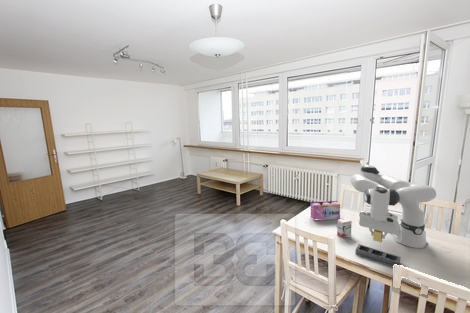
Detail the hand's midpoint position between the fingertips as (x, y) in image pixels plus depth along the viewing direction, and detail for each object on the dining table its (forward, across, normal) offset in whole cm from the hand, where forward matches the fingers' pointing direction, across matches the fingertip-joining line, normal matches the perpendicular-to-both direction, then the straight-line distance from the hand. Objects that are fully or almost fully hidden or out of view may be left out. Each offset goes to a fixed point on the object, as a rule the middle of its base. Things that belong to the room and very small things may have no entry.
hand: (378, 236), depth 132 cm
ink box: (+14, -24, +16) cm, 32 cm away
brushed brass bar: (+2, 0, 0) cm, 2 cm away
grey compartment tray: (+14, 0, 0) cm, 14 cm away
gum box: (+14, -46, +36) cm, 60 cm away
